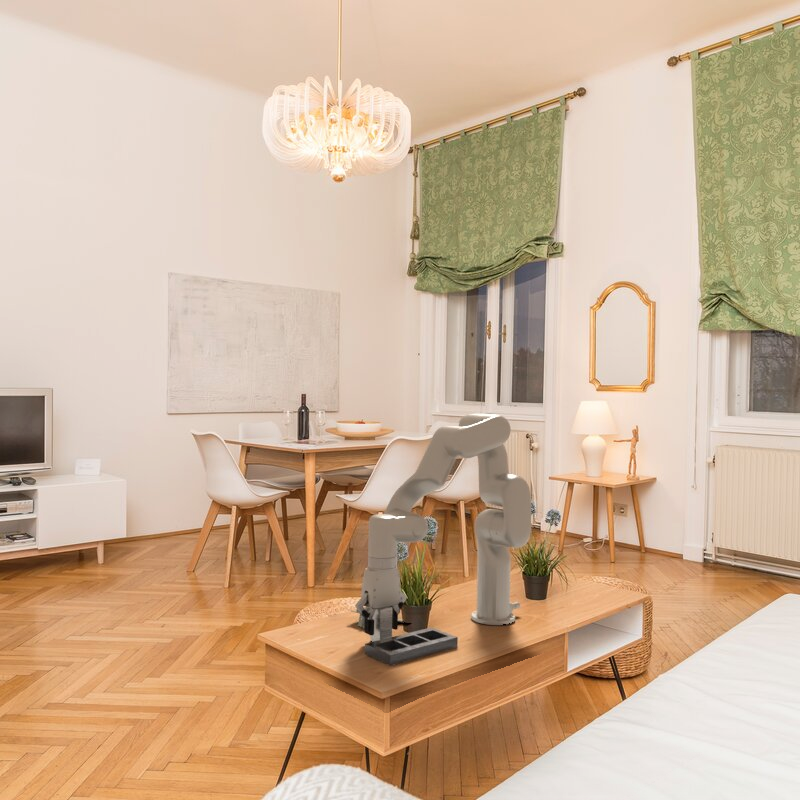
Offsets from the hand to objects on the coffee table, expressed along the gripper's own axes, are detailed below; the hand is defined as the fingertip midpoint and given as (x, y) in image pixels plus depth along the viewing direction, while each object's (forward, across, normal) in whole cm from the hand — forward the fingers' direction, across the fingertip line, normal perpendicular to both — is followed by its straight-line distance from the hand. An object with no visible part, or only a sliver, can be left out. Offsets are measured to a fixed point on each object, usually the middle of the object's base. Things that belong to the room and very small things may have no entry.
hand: (381, 630), depth 187 cm
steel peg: (+3, 0, 0) cm, 3 cm away
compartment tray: (+3, -2, +10) cm, 11 cm away
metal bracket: (+3, -9, -13) cm, 17 cm away
